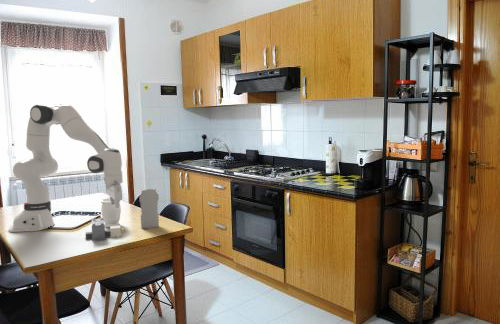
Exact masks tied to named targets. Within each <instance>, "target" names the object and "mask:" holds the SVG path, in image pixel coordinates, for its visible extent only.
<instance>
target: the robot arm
mask: <svg viewBox="0 0 500 324" xmlns="http://www.w3.org/2000/svg"><path fill="white" fill-rule="evenodd" d="M29 114H30V115H29V116H30V117H29V118H28V122H27V123H28V124H27V129H26V143H25V147H26V148H27V150H29V151H30V152H31V153H32V156H33V158H29V159H28V158H27V159H24V160H21V161H17V162H15V164H14V165H13V167H12V173H13V175H14V177H16V179H17V180H20V181H21V183H22V184H23V186H24V188H25V192H26V200H27V201H25V202H24V204H23V211H21V212H20V213H19V214H17V215H16V216H14V219H13V222H12V225H11V226H9V227H8V232H9V233H16V232H17V233H18V232H19V233H20V232H36V231H38V232H39V231H42V230H45V229H49V228H51V227H50V226H52V227H54V226H55V225H54V224H55V222H54V220H53V215H52V203H51V200H50V198H51V197H50V188H49V186H48V185H46V184H44V183H43V181H42V179H41V178H44V177H49V176H52V175H53V174H55V173H57V172H58V169H59V164H58V161H57V160H56V159H55V157H53V156H52V154H51V149H50V135H51V134H50V132H51V131H50V129H51V126H52V125H60V126H61V128H62V130H63V131H64V133H65V134H66V135H67V136H68V137H69V138H70V139H72V140H75V141H80V142H83V143H86V144H88V145H90V146H91V147H92V148H93V149H94V151H96V153H97V154H94V155H91V156H89V158H88V159H87V162H86V164H87V165H86V166H87V169H88V171H89V172H91V173H92V174H101V173H104V174H103V175H104V177H103V181H104V185H105V189H106V193H107V195H108V196H109V198H110V200H111V204H112V205H113V204H115V208H119V203H121V201H123V190H122V188H123V187H122V185H121V184H123V182H124V181H123V171H122V166H123V163H122V162H123V161H122V155H121V152H120V150H119V149H116V148H110V147H108V145H107V144H106V143H105V142H104V140H103V139H102V138H101V137H100V136H99V134H98V133H96V132H95V130H93V129H92V128H91V127H90V126H89V125H88V124H87V122H85V120H84V119H83V117H82V116H81V115H80V113H79V112H78V111H77V110H76V108H75V107H73V106H72V105H71V104H61V103H60V104H58V103H39V104H35V105H33V106H32V107H31V108H30V111H29ZM53 225H54V226H53ZM48 227H49V228H48Z"/></svg>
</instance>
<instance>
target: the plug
mask: <svg viewBox="0 0 500 324" xmlns="http://www.w3.org/2000/svg"><path fill="white" fill-rule="evenodd" d="M109 228H110V229H106V230H105V238H110V236H111V238H115V236H116V237H121V236H122V233H125V227H123V228H121V225H120V224H119V225H118V226H110V227H109ZM85 239H86V240H91V239H92V231H86V232H85Z"/></svg>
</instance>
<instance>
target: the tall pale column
mask: <svg viewBox="0 0 500 324" xmlns="http://www.w3.org/2000/svg"><path fill="white" fill-rule="evenodd" d="M159 197H160V196H159V194H158V192H157V190H156V189H154V188H147V189H142V190H141V192H140V195H139V196H138V198H139V200H138V201H139V203H140V211H141V212H140V213H141V214H140V228H141V229H143V230H145V229H153V228H157V227H160V223H159V222H160V221H159V212H158V211H159V210H158V208H159V207H158V206H159V202H158V201H159V199H160V198H159Z"/></svg>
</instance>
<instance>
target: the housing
mask: <svg viewBox="0 0 500 324" xmlns="http://www.w3.org/2000/svg"><path fill="white" fill-rule="evenodd" d="M104 224H105V222H104V218H103V217H101V218H92V219H91V232H92V241H91V242H98V241H99V242H100V241H105V240H106V237H105V228H106V227H105V226H104Z"/></svg>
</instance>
